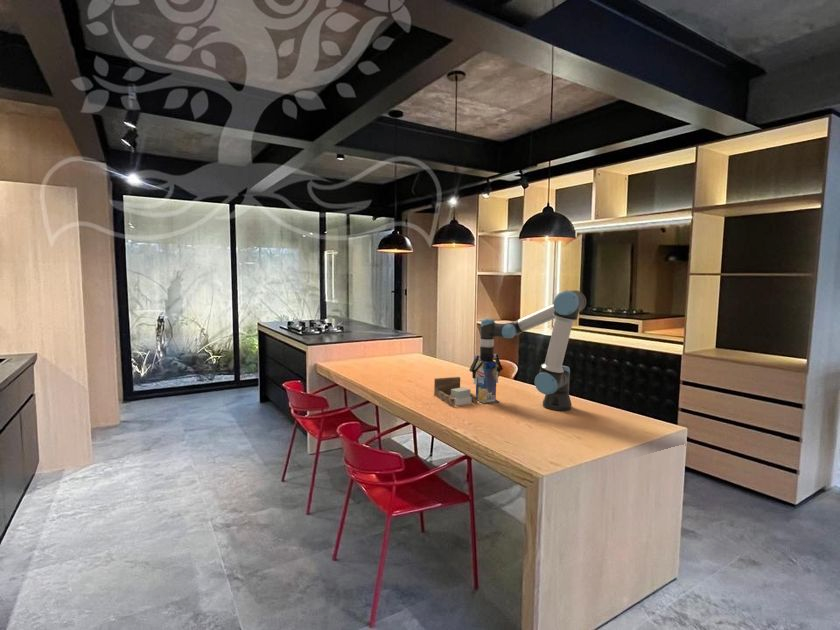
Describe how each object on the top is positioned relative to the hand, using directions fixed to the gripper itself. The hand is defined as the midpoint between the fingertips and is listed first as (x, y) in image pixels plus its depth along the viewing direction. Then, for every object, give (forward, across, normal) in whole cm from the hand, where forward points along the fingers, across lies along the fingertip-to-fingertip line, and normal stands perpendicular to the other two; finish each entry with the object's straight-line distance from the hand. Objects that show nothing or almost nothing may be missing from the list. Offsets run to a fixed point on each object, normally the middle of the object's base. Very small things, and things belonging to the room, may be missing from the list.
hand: (485, 383), depth 259 cm
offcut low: (+10, +16, +1) cm, 19 cm away
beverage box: (+9, 0, 0) cm, 9 cm away
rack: (+10, +16, -6) cm, 20 cm away
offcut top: (+6, +16, +1) cm, 17 cm away
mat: (+10, 0, 0) cm, 10 cm away
